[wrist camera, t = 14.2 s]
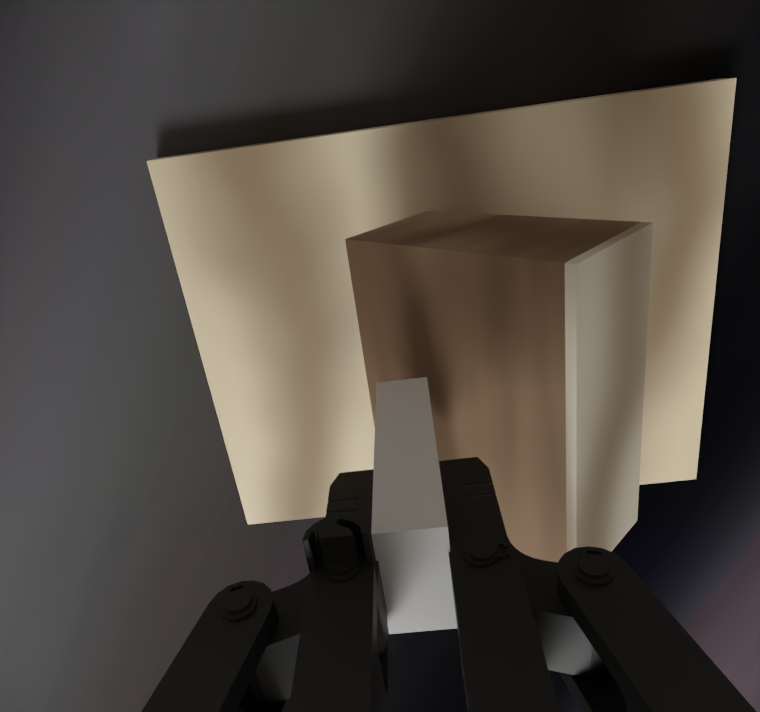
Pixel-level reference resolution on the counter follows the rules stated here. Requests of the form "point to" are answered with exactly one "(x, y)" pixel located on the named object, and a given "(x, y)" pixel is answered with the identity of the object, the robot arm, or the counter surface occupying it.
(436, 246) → the wooden block
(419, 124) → the board
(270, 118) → the counter surface
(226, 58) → the counter surface
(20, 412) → the counter surface
